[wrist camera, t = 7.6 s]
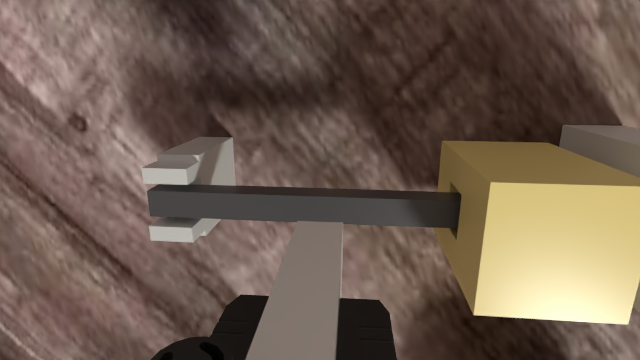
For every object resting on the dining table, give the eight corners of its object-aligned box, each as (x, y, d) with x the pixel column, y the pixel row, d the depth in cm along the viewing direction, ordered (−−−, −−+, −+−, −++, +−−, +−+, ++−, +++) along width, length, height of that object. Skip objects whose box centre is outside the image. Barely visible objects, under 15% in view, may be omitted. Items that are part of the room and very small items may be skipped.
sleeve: (433, 230, 20) (473, 315, 13) (442, 140, 19) (490, 182, 12) (532, 234, 20) (627, 324, 13) (547, 142, 19) (663, 187, 11)
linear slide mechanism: (206, 216, 24) (92, 325, 14) (198, 119, 22) (61, 161, 12) (600, 232, 22) (812, 374, 11) (623, 125, 20) (895, 182, 10)
